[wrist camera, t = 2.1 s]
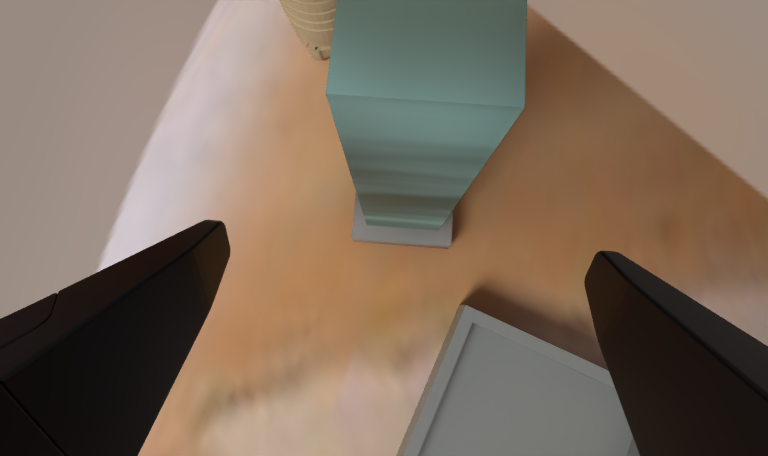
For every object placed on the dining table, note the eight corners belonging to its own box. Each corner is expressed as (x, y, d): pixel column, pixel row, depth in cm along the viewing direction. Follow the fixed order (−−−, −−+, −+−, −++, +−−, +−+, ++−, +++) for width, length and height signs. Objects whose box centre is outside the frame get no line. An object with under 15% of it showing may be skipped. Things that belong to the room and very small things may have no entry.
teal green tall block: (447, 248, 21) (564, 147, 7) (353, 241, 21) (282, 126, 7) (452, 159, 21) (564, -91, 8) (362, 152, 22) (314, -104, 8)
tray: (581, 610, 18) (600, 641, 16) (376, 503, 18) (375, 522, 17) (651, 392, 19) (675, 401, 18) (459, 304, 20) (465, 304, 18)
